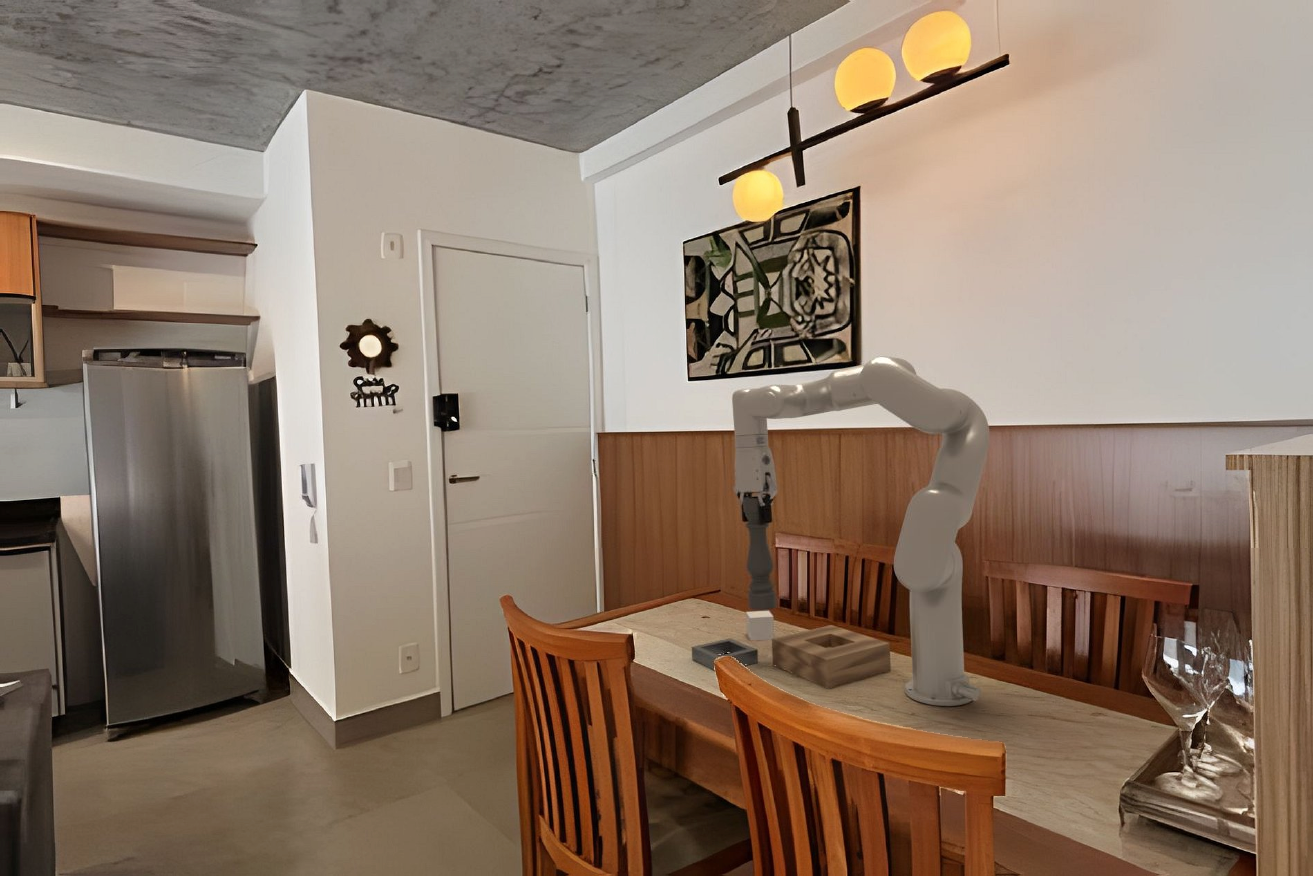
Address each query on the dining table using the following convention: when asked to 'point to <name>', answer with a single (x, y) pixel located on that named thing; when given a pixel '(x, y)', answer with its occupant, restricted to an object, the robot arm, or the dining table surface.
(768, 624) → the white cube
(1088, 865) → the dining table surface
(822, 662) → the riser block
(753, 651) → the metal collar
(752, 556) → the candle holder
